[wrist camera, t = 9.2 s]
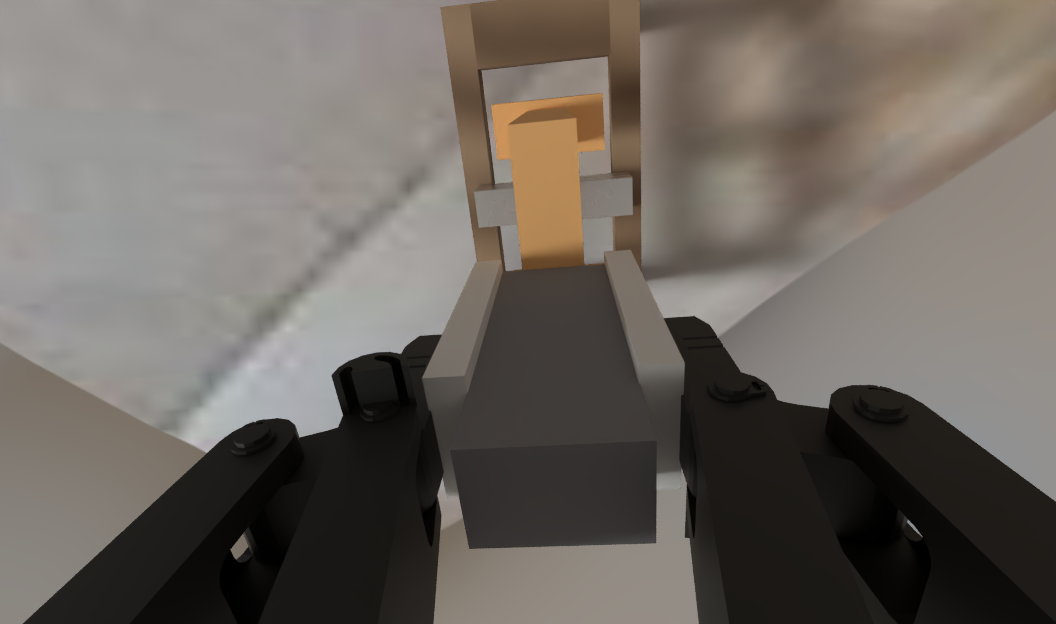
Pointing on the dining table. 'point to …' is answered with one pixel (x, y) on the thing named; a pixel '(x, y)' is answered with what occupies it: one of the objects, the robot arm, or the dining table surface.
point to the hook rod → (596, 191)
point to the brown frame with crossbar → (535, 38)
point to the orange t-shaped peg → (554, 365)
